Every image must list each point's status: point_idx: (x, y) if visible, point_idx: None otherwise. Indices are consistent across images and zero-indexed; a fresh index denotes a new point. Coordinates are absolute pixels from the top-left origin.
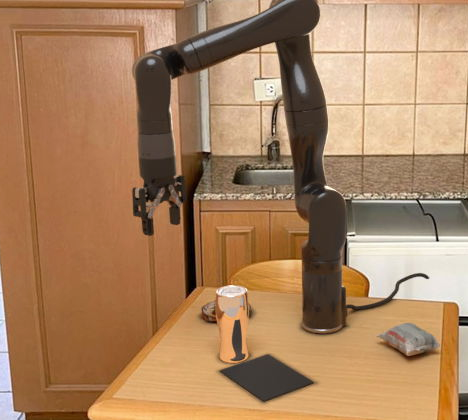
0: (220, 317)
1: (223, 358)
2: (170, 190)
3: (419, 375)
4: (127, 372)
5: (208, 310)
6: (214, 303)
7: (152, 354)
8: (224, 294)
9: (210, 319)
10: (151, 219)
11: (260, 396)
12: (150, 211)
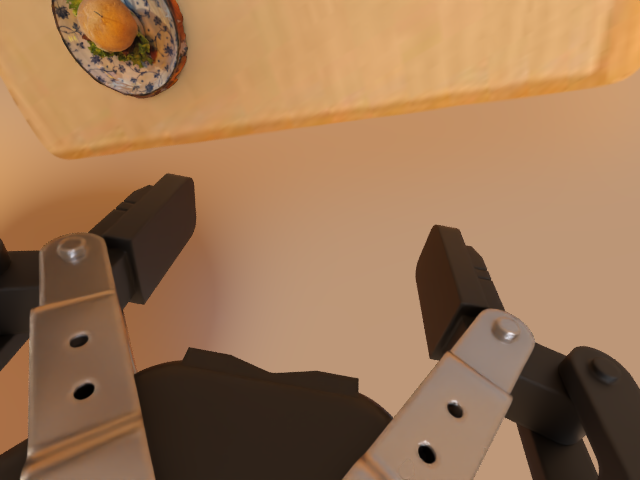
0: None
1: None
2: (142, 472)
3: None
4: (475, 103)
5: (145, 79)
6: (110, 81)
7: (382, 95)
8: None
9: (183, 47)
10: (477, 300)
11: None
12: (512, 363)
